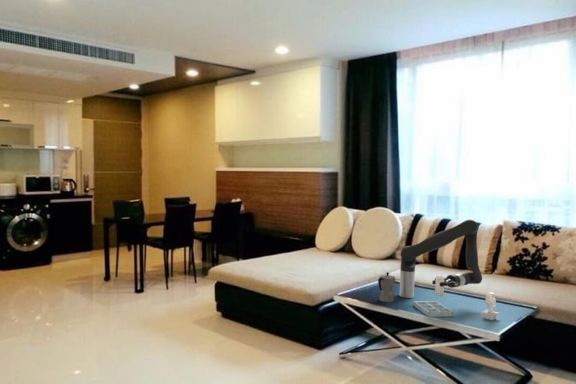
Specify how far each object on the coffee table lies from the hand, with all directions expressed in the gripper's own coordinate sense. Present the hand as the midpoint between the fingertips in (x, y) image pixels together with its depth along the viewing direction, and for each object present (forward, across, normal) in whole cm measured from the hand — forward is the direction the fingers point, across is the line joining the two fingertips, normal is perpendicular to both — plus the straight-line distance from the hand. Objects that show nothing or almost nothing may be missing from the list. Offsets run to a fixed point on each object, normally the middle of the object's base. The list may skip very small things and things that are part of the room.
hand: (436, 283), depth 265 cm
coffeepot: (+6, -34, +18) cm, 39 cm away
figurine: (-22, +20, +18) cm, 35 cm away
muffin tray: (-4, -6, +18) cm, 19 cm away
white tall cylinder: (-3, 0, +7) cm, 7 cm away
